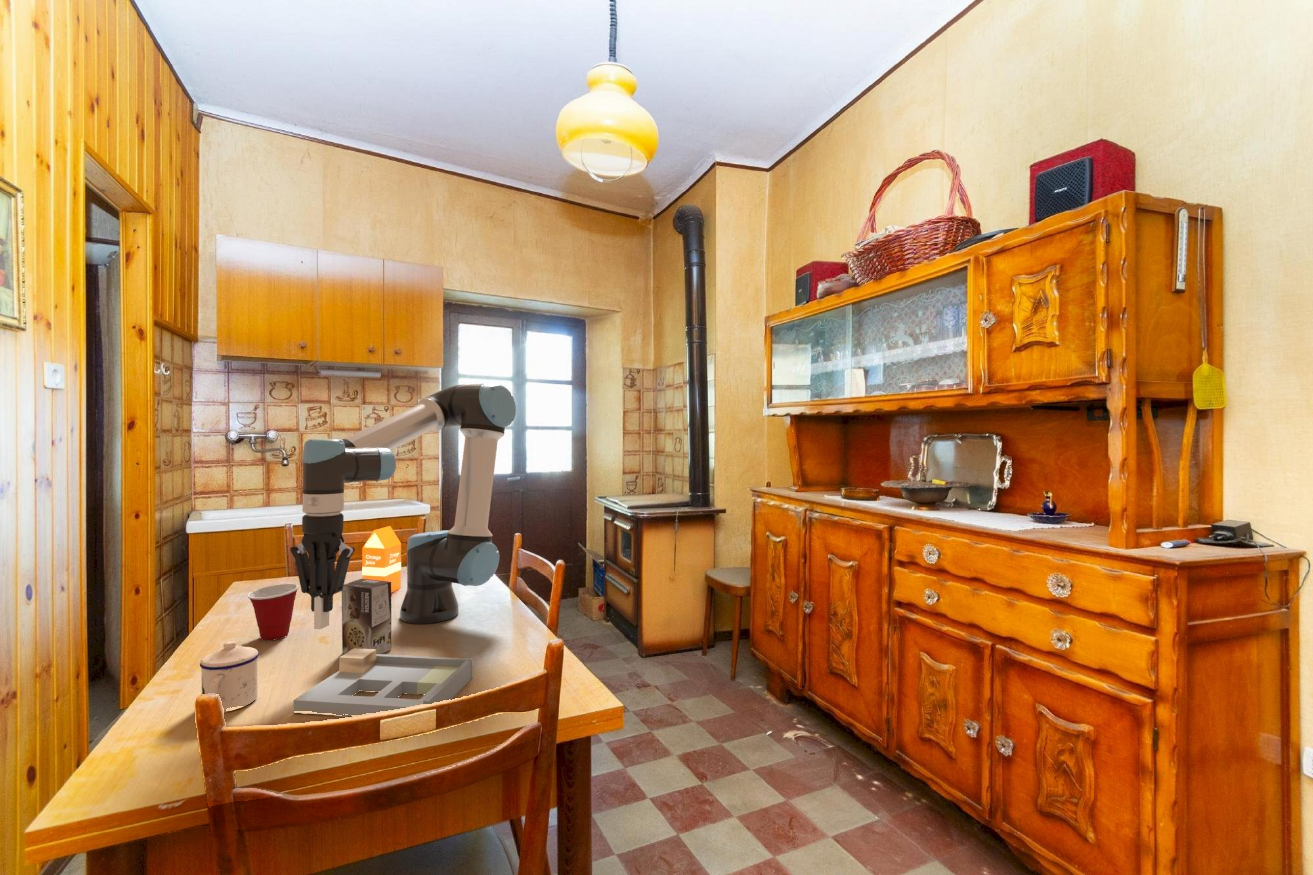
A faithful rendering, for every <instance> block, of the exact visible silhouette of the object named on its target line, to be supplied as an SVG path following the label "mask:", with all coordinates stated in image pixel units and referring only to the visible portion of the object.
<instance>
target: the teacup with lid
mask: <svg viewBox="0 0 1313 875" xmlns="http://www.w3.org/2000/svg"><path fill="white" fill-rule="evenodd" d="M259 655H260V653H259V651H258V650H257V649H256V648H254V647H251V646H243V645H240V644H239V645H238V644H237V642H236V641H235V640H229V641H225V642H224V643H223V647H221V648H219V649H218V650H216V651H214V652H211V653H209V654H207V655H205V656H204V657H203V658H202V659H201V660H200V663H199V666H200V668H201V695H202V694H208V693H215V694H219V696H220V698H221V701H222V706H223V708H224V713H226V714H227V712H226V709H227V708H230V707H231V708H232V707H237V706H245V705H247V704H250V703H251V702H253V701H254V700H255V701H256V700H257V699H256V698H258V696H259V695H258V683H259V682H258V658H259ZM255 701H254V702H255ZM254 702H253V703H254ZM250 705H251V704H250ZM224 713H223V714H224Z"/></svg>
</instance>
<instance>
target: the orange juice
mask: <svg viewBox="0 0 1313 875" xmlns="http://www.w3.org/2000/svg"><path fill="white" fill-rule="evenodd" d="M361 554H362V557H361V558H362V560H361V562H362V564H361V565H362V567H361V568H362V572H361V574H362V578H361V579H371V580H380V581H390V582H392V583H391V593H393V592H395V591H397V590H400V589H401V587H402V582H401V581H402V580H401V579H402V542H401V541H400V539H399V538H398V536H397V535H396V533H395V531H394V529H393V528H392V526H391V525H388V526H385V527H382V528H378V529H377V528H376V529H373V532H371V535H369V537H368V539H367V540H366V542H365V544H364V545H363V547H362V553H361Z"/></svg>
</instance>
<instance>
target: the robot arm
mask: <svg viewBox="0 0 1313 875" xmlns="http://www.w3.org/2000/svg"><path fill="white" fill-rule="evenodd" d="M516 407H517V406H516V402H515V398H514V397H513V395H512V392H511V391H510V390H509V389H508V388H507V387H505V386H504V385H501V384H497V383H488V382H485V383H474V384H465V383H464V384H456V385H451V386H449V387H447V388H444V389H442V390H441V389H440V390H439V391H437V392H435V393H432V394H430V395H429V396H426V397H424V398H422V399H420V400H419V401H418V402H417V405H415V406H413V407H411V408H408V409H406V410H404V411H402V412H400V413H397V414H395V415H393V416H391V417H388V418H386V419H384V420H381V421H380V422H377V423H375V424H373V425H371V426H367V428H364V429H361V430H359V431H357V432H355V433H353V434H351V435H348V436H347V437H344V438H342V439H341V438H340V439H339V438H338V439H337V438H336V439H335V438H311V439H308V440H306V441H305V442H304V445H303V450H302V460H301V461H302V512H303V514H304V515H303V516H302V517H301V531H302V533H303V536H302V538H301V542H300V543H298V544H297V545H295V546H291V547H290V549H289V551H290V553H291V555H292V556H293V558H294V561H295V566H296V572H297V575H298V576H297V577H298V581H299V585H300V588H301V589H300V590H301V592H302V593H303V594H308V595H309V596H310V610H311V612H312V613H313V614H314V615H313V630H322V629H324V628H327V627H328V626H330V612H331V611H333V608H334V605H333V604H334V595H336V594H338V593H341V592H342V589H343V586H344V584H345V581H346V576H347V573H348V570H349V569H348V568H349V564H350V560H351V558H352V556H353V554H354V553H355V551H356V548H355V547H354V546H348V544H346V543H345V539H344V536H343V531H344V523H345V522H344V514H343V513H342V512H343V511H344V509H345V494H344V493H345V484H349V483H350V484H351V483H365V482H368V483H369V482H376V483H377V482H380V481H387V480H389V479H391V478H393V476H394V474H395V471H396V468H397V458H396V456H395V454H394V452H393V451H392V450H394V449H396V448H399V447H400V446H402V445H404V444H406V443H408V442H410V441H413V440H414V439H416V438H418V437H420V436H422V435H424V434H427V433H428V432H431V431H432V432H438V431H440V430H443V429H445V428H446V429H447V428H449V427H460V428H459V429H460V432H461V433H462V434H463V436H464V444H463V452H462V453H463V454H462V461H461V468H460V470H461V471H460V477H459V486H458V494H457V502H456V509H455V518H454V525H453V526H452V528H450V529H449V530H436V531H433V530H432V531H427V532H422V533H420V532H419V533H417V534H412V535H411V536H410V537H409V538H408V539H407V546H406V547H407V549H406V575H407V576H406V586H407V588H406V592H405V595H404V598H403V600H402V604H401V607H400V611H399V618H400V620H401V621H403V622H405V623H407V624H415V625H416V624H418V625H419V624H434V623H439V622H444V621H448V620H450V619H452V618H455V617H456V616H458V614H459V603H458V602H459V601H458V600H457V597H456V593H455V591H454V588H453V584H458V585H462V586H464V587H466V586H467V587H469V586H470V587H478V586H482V585H485V583H488V582H489V581H490V580H491V578H492V577H493V576H494V575H495V573H496V571H497V569H498V567H499V563H500V551H499V550H498V547H497V546H496V545H495V543H493V536H494V535H493V533H492V532H491V531H490V529H489V528H488V527H489V517H490V511H491V501H492V493H493V484H494V475H495V468H496V467H495V466H496V460H497V459H496V456H497V450H498V441H499V440H500V439H501V438H502V437H504V436H505V429H506V428H507V427H508V426H510V425H512V424H513V423H512V422H514V420H515V417H516V413H517V408H516ZM337 554H338V558H337Z"/></svg>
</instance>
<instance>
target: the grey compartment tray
mask: <svg viewBox="0 0 1313 875" xmlns="http://www.w3.org/2000/svg"><path fill="white" fill-rule="evenodd" d="M473 663H474V662H473V658H460V657H446V656H445V657H441V656H424V655H423V656H422V655H421V656H420V655H406V654H405V655H403V654H401V655H400V654H385V653H383V654H376V664H375V665H374V666H372V667H371V668H369V669H368V670H366V671H365V672H364V673H350V672H339V670H337V671H336V672H335V673H333V674H331V675H330V676H328V677H327V678H325V679H324V680H322V681H320V682H318V684H316V685H314V686H313V687H311V688H309V689H308V690H307V691H305V692H303V693H302V694H301V695H299V696H298V697H296V698H295V699H293V703H292V704H293V712H294V711H312V712H317V713H332V714H336V715H342V716H338V717H341V718H342V717H343V718H349V717H348V716H351V715H362V714H366V713H376V712H380V711H388V710H394V709H400V708H406V707H410V706H415V705H420V704H432V703H434V702H440V701H443V700H449V699H452V700H453V699H454V698H455V697H456V696H457V694H458V693H460V692H461V690H462V689H463V688H465V686H466V685H467V684H468V683H469V682H470V681H471V680H473V669H474V668H473ZM359 690H362V691H380V692H378V693H375V695H374V696H366V695H365V696H364V695H360V696H359V695H356V694H355V693H357V692H358V691H359ZM358 693H359V692H358ZM358 693H357V694H358ZM402 693H407V694H406V695H410V694H425V695H422V696H421V698H419V699H417V698H416V699H415V698H414V699H413V698H400V697H401V696H402V695H403V694H402ZM354 694H355V695H354ZM401 694H402V695H401ZM352 695H354V696H352ZM400 695H401V696H400ZM398 696H400V697H399V698H397V697H398ZM343 714H344V715H343ZM345 714H348V715H345Z"/></svg>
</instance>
